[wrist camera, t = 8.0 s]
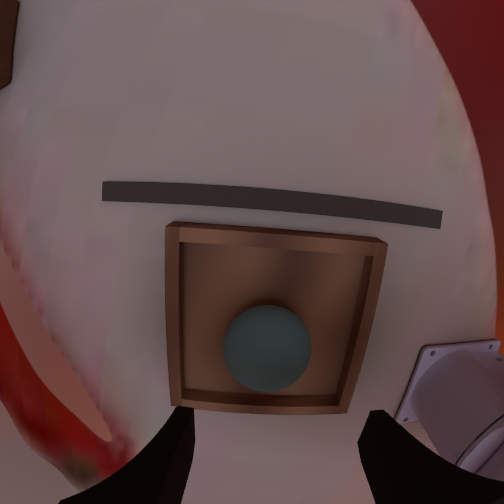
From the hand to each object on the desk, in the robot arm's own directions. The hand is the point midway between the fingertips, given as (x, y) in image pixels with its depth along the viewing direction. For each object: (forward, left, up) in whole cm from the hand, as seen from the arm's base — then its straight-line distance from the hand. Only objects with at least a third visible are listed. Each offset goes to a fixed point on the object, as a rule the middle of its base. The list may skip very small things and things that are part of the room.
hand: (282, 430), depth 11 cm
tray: (0, 0, -9) cm, 9 cm away
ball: (0, 0, -6) cm, 6 cm away
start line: (0, -8, -9) cm, 12 cm away
